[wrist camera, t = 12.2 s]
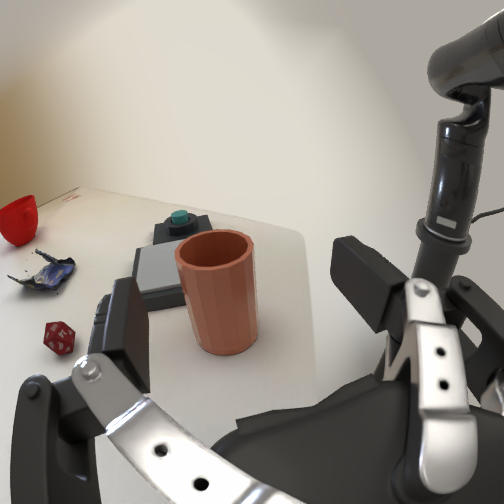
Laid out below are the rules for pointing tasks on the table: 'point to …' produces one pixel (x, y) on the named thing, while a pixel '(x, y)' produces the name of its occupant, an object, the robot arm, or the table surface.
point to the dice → (59, 337)
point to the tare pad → (180, 229)
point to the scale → (158, 276)
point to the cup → (220, 289)
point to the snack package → (49, 273)
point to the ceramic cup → (19, 221)
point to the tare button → (179, 217)
